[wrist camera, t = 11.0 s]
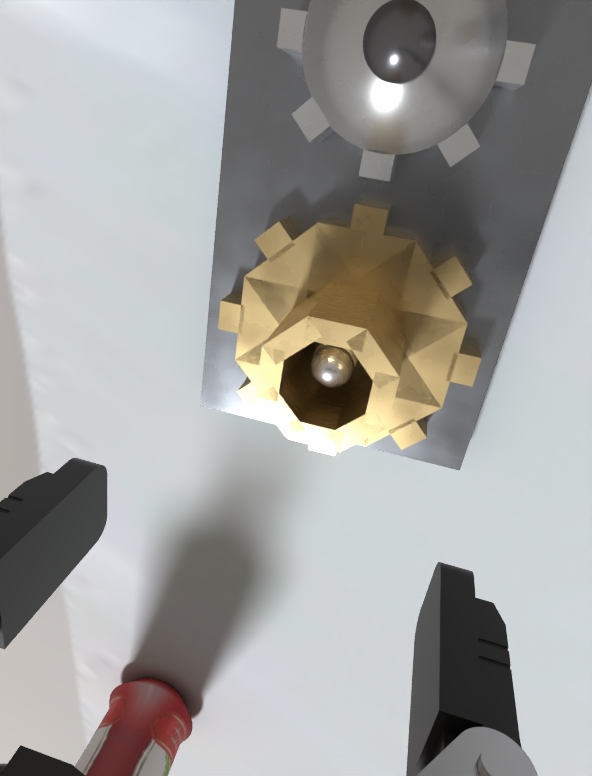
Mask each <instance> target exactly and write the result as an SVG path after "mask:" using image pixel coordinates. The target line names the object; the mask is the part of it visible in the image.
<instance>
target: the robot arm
mask: <svg viewBox="0 0 592 776" xmlns="http://www.w3.org/2000/svg"><path fill="white" fill-rule="evenodd" d="M106 520H107V470H106V468H105V466H103V465H99V464H96V463H92V462H89V461H85V460H82V459H78V458H73V459H71V460H69V461H68V462H67V463H66V464H64V465H63V466H62V467H61V468H60V469H59V470H58V471H56V472H55V473H54V474H52V473H49V472H46V473H44V474H41V475H39V476H37V477H34V478H32V479H30V480H27V481H25V482H24V483H23V484H22V485H20V486H19V487H18V488H17V489H15V490H14V491H13V492H12V493H11V494H9V496H8V498H4V499H3V500H2V501H1V502H0V648H2V649H5V648H6V647H7V646H8V645H9V644H10V642H11V641H12V640H13V639H14V638H15V637H16V635H17V634H18V633H19V632H20V631H21V630H22V628H23V627H24V626H25V625H26V624H27V623H28V621H29V620H30V619H31V618H32V617H33V616H34V615H35V613H36V612H37V611H38V610H39V609H40V607H41V606H42V605H43V604H44V603H45V602H46V601H47V599H48V598H49V597H50V596H51V595H52V593H53V592H54V591H55V590H56V589H57V588H58V587H59V585H60V584H61V583H62V582H63V581H64V580H65V578H66V577H67V576H68V575H69V574H70V573H71V571H72V570H73V569H74V568H75V567H76V566H77V564H78V563H79V562H80V561H81V560H82V559H83V557H84V556H85V555H86V554H87V553H88V552H89V550H90V549H91V548H92V547H93V546H94V545H95V543H96V542H97V541H98V540H99V538H100V536H101V534H102V532H103V530H104V527H105V524H106ZM0 776H85V775H84V774H83V773H82V772H80V771H79V770H78V769H77V768H76V767H74V766H73V765H71V764H68V763H66V762H63V761H61V760H58V759H55V758H52V757H50V756H47V755H44V754H42V753H39V752H37V751H34V750H31V749H29V748H26V747H23V746H20V747H19V748H18V750H17V751H16V753H15V754H14V755H13V757H12V759H11V760H10V761H9V763H8V764H0ZM406 776H538V775H537V772H536V770H535V767H534V765H533V764H532V762H531V760H530V758H529V757H528V756H527V754H526V753H525V752H524V750H523V749H522V747H521V743H520V738H519V730H518V722H517V714H516V706H515V698H514V689H513V681H512V673H511V670H510V657H509V651H508V641H507V633H506V625H505V623H504V621H503V620H502V618H501V616H500V614H499V612H498V611H497V609H496V607H495V605H494V603H492V602H488V601H485V600H482V599H478V598H475V586H474V575H473V572H472V571H469V570H465V569H462V568H458V567H455V566H451V565H448V564H444V563H441V562H438V564H437V565H436V568H435V570H434V573H433V576H432V579H431V582H430V585H429V587H428V590H427V593H426V596H425V599H424V602H423V605H422V607H421V610H420V614H419V618H418V622H417V627H416V633H415V642H414V659H413V675H412V692H411V709H410V725H409V742H408V758H407V775H406Z"/></svg>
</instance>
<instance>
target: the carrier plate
mask: <svg viewBox="0 0 592 776" xmlns="http://www.w3.org/2000/svg"><path fill="white" fill-rule="evenodd" d="M591 82H592V0H235V6H234V18H233V30H232V42H231V54H230V65H229V77H228V89H227V101H226V113H225V124H224V136H223V148H222V160H221V172H220V183H219V195H218V207H217V219H216V231H215V242H214V254H213V266H212V278H211V290H210V301H209V313H208V325H207V337H206V349H205V360H204V372H203V384H202V396H201V406H203V407H207V408H211V409H215V410H219V411H223V412H227V413H231V414H235V415H239V416H243V417H247V418H251V419H255V420H259V421H264V422H268V423H272V424H276V423H275V422H274V421H273V419H272V418H271V417H270V415H269V414H268V413H267V411H266V410H265V409H264V408H262V409H260V410H259V411H257V412H255V413H253V412H252V411H251V410H250V408H249V407H248V406H247V404H246V403H245V402H244V400H243V399H242V398H241V397H240V395H239V394H238V393H237V390H238V389H239V388H240V387H241V385H242V384H243V383H244V381H245V380H246V379H248V376H247V375H246V374H245V372H244V371H243V370H242V368H241V367H240V366H239V364H238V363H237V362H236V360H235V356H236V347H237V338H238V333H234V332H230V331H225V330H221V329H218V323H219V312H220V302H221V300H222V299H223V298H225V297H226V296H227V295H228V294H230V293H236V294H240V295H242V293H243V284H244V276H245V275H247V274H248V273H249V272H251V271H252V270H253V269H255V268H256V267H257V266H259V265H260V264H262V263H263V262H264V261H266V260H267V258H266V256H265V255H264V253H263V252H262V251H261V249H260V248H259V246H258V245H257V243H256V242H255V241H254V240H255V239H256V238H258V237H259V236H260V235H262V234H263V233H264V232H266V231H267V230H268V229H270V228H271V227H272V226H274V225H275V224H276V223H277V222H279V221H280V220H282V219H284V218H286V217H288V218H289V220H290V221H291V223H292V224H293V226H294V227H295V229H296V230H297V232H298V233H299V235H301V234H303V233H304V232H305V231H307V230H308V229H310V228H311V227H312V226H314V225H315V224H316V223H318V222H319V221H321V220H322V219H323V218H329V219H334V220H339V221H344V222H349V223H351V221H352V216H353V211H354V205H355V203H356V202H358V201H359V200H361V201H367V202H372V203H377V204H383V205H388V206H391V209H390V213H389V218H388V223H387V227H386V230H390V231H396V232H401V233H406V234H411V235H416V236H418V238H419V239H420V241H421V243H422V244H423V246H424V247H425V249H426V251H427V252H428V254H429V255H430V257H431V259H432V260H433V262H435V261H436V260H438V259H439V258H441V257H443V256H444V255H446V254H447V253H449V252H451V251H452V250H455V251H456V253H457V255H458V256H459V258H460V260H461V261H462V263H463V265H464V266H465V268H466V269H467V271H468V273H469V274H470V276H471V280H472V284H473V285H471V286H469V287H468V288H466V289H464V290H463V291H461V292H459V293H457V294H456V295H455V297H456V299H457V300H458V302H459V303H460V305H461V307H462V308H463V310H464V311H465V313H466V317H467V323H468V324H467V327H466V331H465V334H464V337H463V340H462V343H466V344H470V345H475V346H479V347H480V352H481V357H482V359H481V362H480V365H479V368H478V371H477V374H476V377H475V380H474V384H473V387H471V386H467V385H462V384H458V383H454V382H450V383H449V386H448V390H447V393H446V396H445V400H444V403H443V406H442V408H441V409H439V410H437V411H435V412H433V413H431V414H429V415H427V416H425V417H424V419H425V420H426V422H427V438H425V439H423V440H421V441H419V442H417V443H415V444H413V445H411V446H409V447H407V448H405V449H403V450H401V449H400V447H399V446H398V445H397V443H396V442H395V440H394V439H393V437H392V436H391V435H388V436H386V437H384V438H382V439H380V440H378V441H376V442H374V443H372V444H370V445H368V446H364V447H368V448H372V449H376V450H380V451H384V452H388V453H392V454H396V455H400V456H404V457H408V458H412V459H416V460H420V461H424V462H428V463H432V464H436V465H440V466H444V467H448V468H452V469H456V470H460V468H461V465H462V462H463V459H464V456H465V453H466V450H467V447H468V444H469V441H470V438H471V435H472V432H473V429H474V426H475V424H476V421H477V418H478V415H479V412H480V409H481V406H482V403H483V400H484V397H485V394H486V391H487V388H488V385H489V382H490V379H491V377H492V374H493V371H494V368H495V365H496V362H497V359H498V356H499V353H500V350H501V347H502V344H503V341H504V338H505V335H506V332H507V329H508V327H509V324H510V321H511V318H512V315H513V312H514V309H515V306H516V303H517V300H518V297H519V294H520V291H521V288H522V285H523V282H524V279H525V277H526V274H527V271H528V268H529V265H530V262H531V259H532V256H533V253H534V250H535V247H536V244H537V241H538V238H539V235H540V232H541V229H542V227H543V224H544V221H545V218H546V215H547V212H548V209H549V206H550V203H551V200H552V197H553V194H554V191H555V188H556V185H557V182H558V180H559V177H560V174H561V171H562V168H563V165H564V162H565V159H566V156H567V153H568V150H569V147H570V144H571V141H572V138H573V135H574V132H575V130H576V127H577V124H578V121H579V118H580V115H581V112H582V109H583V106H584V103H585V100H586V97H587V94H588V91H589V88H590V85H591ZM315 344H316V345H317V346H318V347H317V349H316V350H315V352H314V354H313V356H312V358H311V362H310V370H311V373H312V376H313V377H314V379H315V380H316V381H317V382H318V383H319V384H321V385H322V386H325V387H328V388H336V387H340V386H342V385H344V384H346V383H347V382H348V381H349V380H350V378H351V377H352V375H353V372H354V369H355V368H356V367H358V366H360V365H362V364H361V363H360V361H359V360H358V358H357V357H356V355H355V354H354V352H353V351H352V350H349V349H345V348H340V347H336V346H332V345H327V344H323V343H318V342H315ZM356 445H359V444H356ZM360 446H363V445H360Z"/></svg>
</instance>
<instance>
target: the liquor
mask: <svg viewBox="0 0 592 776" xmlns="http://www.w3.org/2000/svg"><path fill="white" fill-rule="evenodd" d="M191 732H192V720H191V717H190V715H189V712H188V710H187V708H186V706H185V703H184V701H183V699H182V697H181V695H180V694H179V693H178V692H177V691H176V690H175V689H174V688H173V687H171V686H170V685H168V684H166V683H165V682H162V681H160V680H156V679H150V678H147V679H141V680H137V681H133V682H129V683H125V684H121V685H119V686H118V687H116V688H115V689H114V690H113V691H112V693H111V695H110V700H109V710H108V712H107V714H106V715H105V717H104V719H103V720H102V722H101V724H100V725H99V727H98V729H97V730H96V732H95V734H94V735H93V737H92V739H91V740H90V742H89V744H88V746H87V747H86V749H85V751H84V752H83V754H82V756H81V757H80V759H79V760H78V762H77V764H76V766H75V767H76V768H77V769H78V770H79V771H80V772H82V773H83V774H84V775H85V776H168V773H169V771H170V768H171V766H172V763H173V761H174V758H175V756H176V753H177V750H178V748H179V745H180V744H181V743H182V742H183V741H185V740H186V739H187V738H188V737H189V736H190V734H191Z"/></svg>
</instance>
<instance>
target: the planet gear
mask: <svg viewBox="0 0 592 776" xmlns="http://www.w3.org/2000/svg"><path fill="white" fill-rule="evenodd" d="M390 209H391V206H388V205H383V204H377V203H372V202H367V201H361V200H359V201H358V202H356V203H355V205H354V211H353V216H352V221H351V223H349V222H344V221H339V220H334V219H329V218H323V219H322V220H321V221H319V222H318V223H316V224H315V225H314V226H312V227H311V228H310V229H308V230H307V231H305V232H304V233H303V234H301V235H299V233H298V232H297V230H296V229H295V227H294V226H293V224H292V223H291V221H290V220H289V218H288V217H286V218H284V219H282V220H280V221H279V222H277V223H276V224H275V225H274V226H272V227H271V228H270V229H268V230H267V231H266V232H264V233H263V234H262V235H260V236H259V237H258V238H256V239H255V240H254V241H255V242H256V243H257V245H258V246H259V248H260V249H261V251H262V252H263V253H264V255H265V256H266V258H267V260H266V261H264V262H263V263H262V264H260V265H259V266H257V267H256V268H255V269H253V270H252V271H251V272H249V273H248V274H247V275H245V276H244V284H243V293H242V295H240V294H236V293H230V294H228V295H227V296H226V297H225V298H223V299H222V300H221V302H220V312H219V323H218V329H221V330H225V331H230V332H234V333H238V338H237V347H236V356H235V360H236V362H237V363H238V364H239V366H240V367H241V368H242V370H243V371H244V372H245V374H246V375H247V376H248V379H246V380H245V381H244V383H243V384H242V385H241V387H240V388H239V389H238V390H237V393H238V394H239V395H240V397H241V398H242V399H243V400H244V402H245V403H246V404H247V406H248V407H249V408H250V410H251V411H252V412H253V413H255V412H257V411H259V410H260V409H262V408H264V409H265V410H266V411H267V413H268V414H269V415H270V417H271V418H272V419H273V421H274V422H275V423H276V425H277V426H278V427H279V429H280V430H281V431H282V433H283V434H284V435H285V437H286V438H287V439H289V440H293V441H297V442H301V443H305V444H309V448H308V450H312V451H316V452H320V453H324V454H328V455H332V456H336V452H341V451H343V450H345V449H347V448H349V447H351V446H353V445H355V444H359V445H363V446H368V445H370V444H372V443H374V442H376V441H378V440H380V439H382V438H384V437H386V436H388V435H391V436H392V437H393V439H394V440H395V442H396V443H397V445H398V446H399V447H400V449H401V450H403V449H405V448H407V447H409V446H411V445H413V444H415V443H417V442H419V441H421V440H423V439H425V438H427V422H426V420H425V419H424V417H425V416H427V415H429V414H431V413H433V412H435V411H437V410H439V409H441V408H442V406H443V403H444V400H445V396H446V393H447V390H448V386H449V383H450V382H454V383H458V384H462V385H467V386H471V387H473V384H474V380H475V377H476V374H477V371H478V368H479V365H480V362H481V359H482V357H481V352H480V347H479V346H475V345H470V344H466V343H462V340H463V337H464V334H465V331H466V327H467V324H468V323H467V317H466V313H465V311H464V310H463V308H462V307H461V305H460V303H459V302H458V300H457V299H456V297H455V295H456V294H457V293H459V292H461V291H463V290H464V289H466V288H468V287H469V286H471V285H473V284H472V280H471V276H470V274H469V273H468V271H467V269H466V268H465V266H464V265H463V263H462V261H461V260H460V258H459V256H458V255H457V253H456V251H455V250H452V251H451V252H449V253H447V254H446V255H444V256H443V257H441V258H439V259H438V260H436V261H435V262H433V260H432V259H431V257H430V255H429V254H428V252H427V251H426V249H425V247H424V246H423V244H422V243H421V241H420V239H419V238H418V236H416V235H411V234H406V233H401V232H396V231H390V230H386V227H387V223H388V218H389V213H390ZM315 342H318V343H323V344H327V345H332V346H336V347H340V348H345V349H349V350H352V351H353V352H354V354H355V355H356V357H357V358H358V360H359V361H360V363H361V364H362V365H360V366H358V367H356V368H355V369H354V372H353V375H352V377H351V378H350V380H349V381H348V382H347V383H346V384H344V385H342V386H340V387H336V388H328V387H325V386H322V385H321V384H319V383H318V382H317V381H316V380H315V379H314V377H313V376H312V373H311V370H310V362H311V358H312V356H313V354H314V352H315V350H316V349H317V347H318V346H317V345H316V344H315Z"/></svg>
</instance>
